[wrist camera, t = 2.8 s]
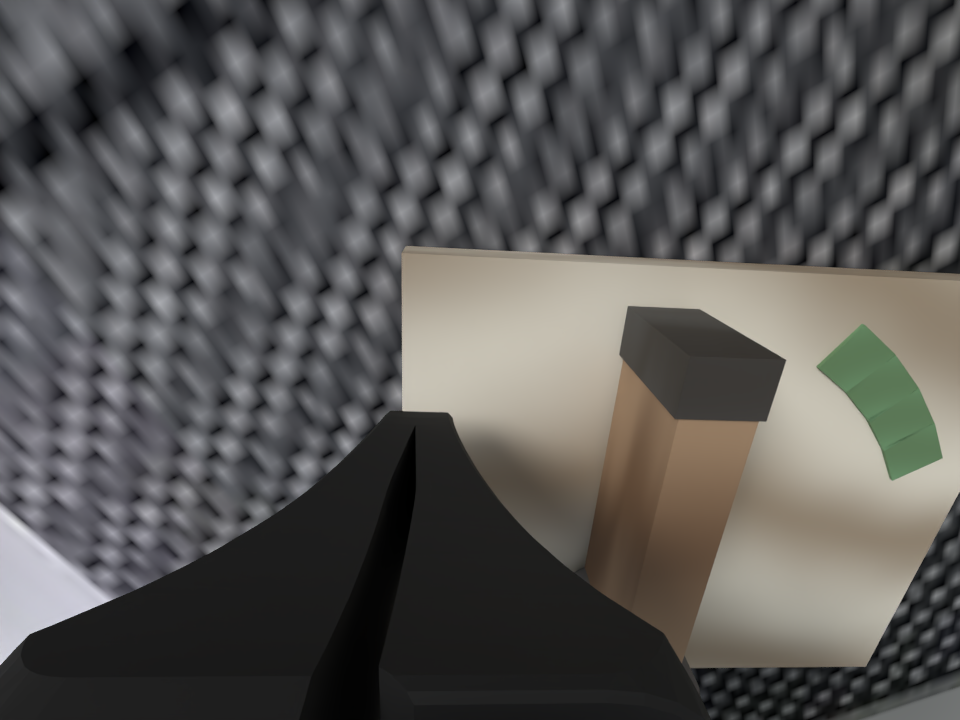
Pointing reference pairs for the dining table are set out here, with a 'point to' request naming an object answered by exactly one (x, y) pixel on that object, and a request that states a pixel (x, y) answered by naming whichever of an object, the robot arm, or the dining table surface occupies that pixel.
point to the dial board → (777, 442)
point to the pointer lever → (675, 462)
